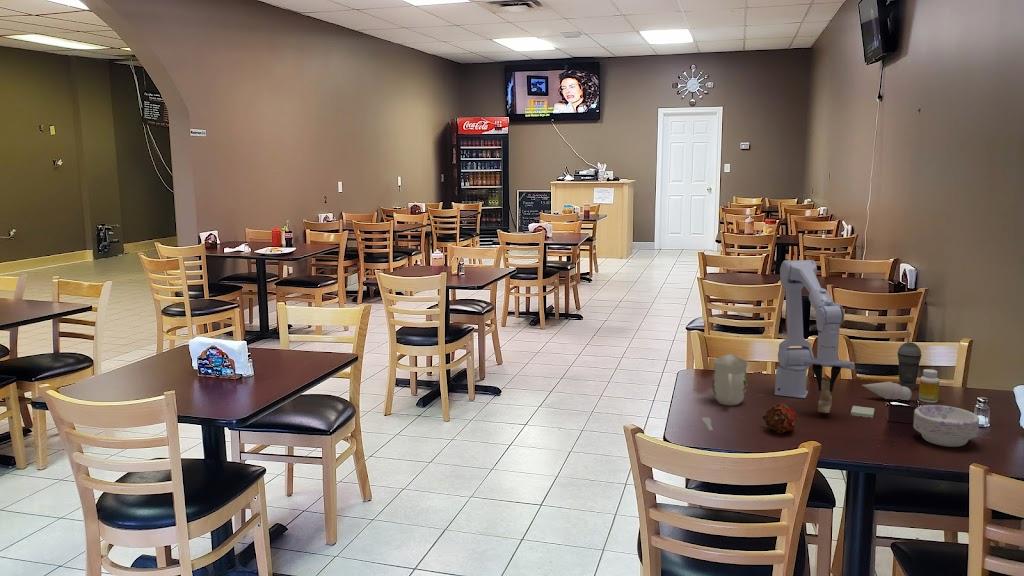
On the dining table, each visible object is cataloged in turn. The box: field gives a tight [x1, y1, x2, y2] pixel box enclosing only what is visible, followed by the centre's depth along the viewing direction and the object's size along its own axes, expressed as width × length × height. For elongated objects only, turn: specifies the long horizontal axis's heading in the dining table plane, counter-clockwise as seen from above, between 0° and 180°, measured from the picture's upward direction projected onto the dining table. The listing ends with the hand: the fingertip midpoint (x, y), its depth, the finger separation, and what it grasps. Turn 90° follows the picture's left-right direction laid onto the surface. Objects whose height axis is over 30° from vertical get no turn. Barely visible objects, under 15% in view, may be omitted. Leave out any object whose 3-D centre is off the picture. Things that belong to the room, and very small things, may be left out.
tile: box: [850, 405, 875, 419], centre depth 231 cm, size 2×7×6 cm
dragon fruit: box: [761, 402, 797, 434], centre depth 215 cm, size 8×8×12 cm
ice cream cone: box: [861, 380, 913, 401], centre depth 243 cm, size 6×6×15 cm
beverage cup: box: [897, 328, 922, 391], centre depth 255 cm, size 7×7×20 cm
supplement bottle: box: [918, 368, 940, 404], centre depth 242 cm, size 5×5×10 cm
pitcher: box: [711, 353, 749, 406], centre depth 241 cm, size 11×18×14 cm, turn 164°
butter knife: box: [701, 417, 714, 431], centre depth 216 cm, size 1×24×3 cm
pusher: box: [817, 377, 833, 414], centre depth 228 cm, size 3×8×9 cm, turn 153°
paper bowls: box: [912, 404, 980, 448], centre depth 206 cm, size 15×15×8 cm
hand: (825, 390), depth 228 cm, fingers closed on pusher, 2 cm apart
